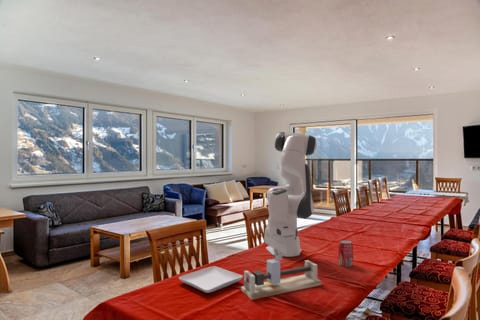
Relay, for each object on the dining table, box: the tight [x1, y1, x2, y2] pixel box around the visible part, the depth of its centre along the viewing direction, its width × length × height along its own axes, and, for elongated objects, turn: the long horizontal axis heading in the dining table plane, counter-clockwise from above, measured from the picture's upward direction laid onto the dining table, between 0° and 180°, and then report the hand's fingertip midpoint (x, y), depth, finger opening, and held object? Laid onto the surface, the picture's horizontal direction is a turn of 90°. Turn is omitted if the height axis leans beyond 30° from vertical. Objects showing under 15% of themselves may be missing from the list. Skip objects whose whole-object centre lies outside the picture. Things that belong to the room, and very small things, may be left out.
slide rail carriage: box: [266, 258, 281, 285], centre depth 137 cm, size 4×4×9 cm
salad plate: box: [178, 265, 244, 294], centre depth 145 cm, size 21×21×3 cm
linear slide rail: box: [240, 259, 323, 301], centre depth 139 cm, size 10×34×8 cm, turn 114°
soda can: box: [338, 239, 354, 268], centre depth 166 cm, size 7×7×12 cm
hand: (278, 259), depth 139 cm, fingers closed
